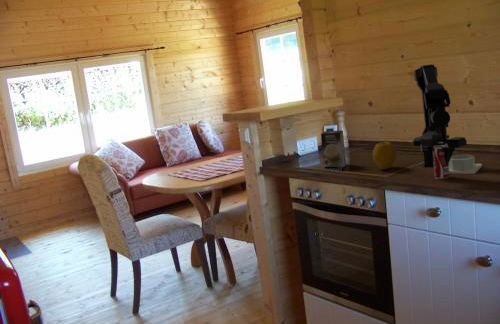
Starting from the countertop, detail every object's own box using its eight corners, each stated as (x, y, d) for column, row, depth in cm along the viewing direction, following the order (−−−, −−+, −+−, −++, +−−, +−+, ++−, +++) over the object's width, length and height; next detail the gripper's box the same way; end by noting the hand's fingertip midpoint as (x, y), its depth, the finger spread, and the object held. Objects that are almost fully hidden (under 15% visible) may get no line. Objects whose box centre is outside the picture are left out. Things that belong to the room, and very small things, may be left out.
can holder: (441, 173, 198) (440, 160, 197) (449, 166, 207) (448, 154, 206) (474, 173, 191) (473, 160, 190) (481, 166, 200) (481, 153, 199)
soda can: (432, 177, 194) (429, 146, 192) (445, 175, 195) (443, 143, 193) (438, 180, 189) (435, 148, 187) (452, 178, 190) (449, 145, 187)
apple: (396, 170, 213) (394, 142, 211) (372, 172, 216) (369, 144, 214) (398, 165, 222) (396, 138, 220) (375, 166, 225) (372, 140, 223)
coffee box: (323, 168, 238) (319, 133, 235) (327, 165, 243) (323, 131, 240) (343, 167, 234) (339, 132, 231) (347, 164, 239) (343, 129, 236)
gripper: (402, 126, 191) (405, 167, 194) (447, 127, 176) (450, 171, 179) (420, 121, 198) (424, 161, 201) (466, 121, 183) (468, 164, 185)
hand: (440, 164), depth 191 cm, fingers closed on soda can, 5 cm apart
